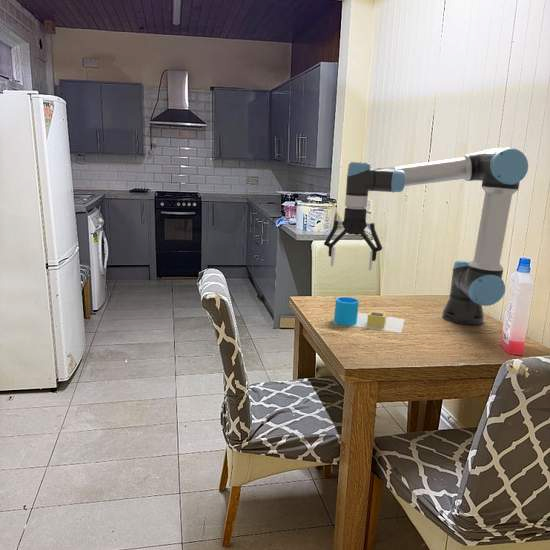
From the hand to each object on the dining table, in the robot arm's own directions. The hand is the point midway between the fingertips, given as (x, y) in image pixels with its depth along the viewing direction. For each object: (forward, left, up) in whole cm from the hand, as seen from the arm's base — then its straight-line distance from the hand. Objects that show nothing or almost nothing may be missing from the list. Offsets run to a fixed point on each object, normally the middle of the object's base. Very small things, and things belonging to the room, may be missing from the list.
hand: (351, 267), depth 180 cm
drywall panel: (-8, -3, -21) cm, 23 cm away
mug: (0, 0, -20) cm, 20 cm away
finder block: (-11, 0, -20) cm, 22 cm away
